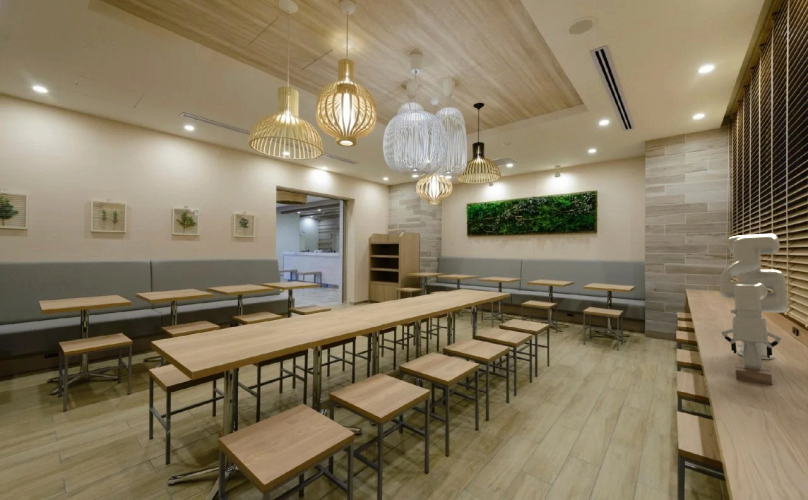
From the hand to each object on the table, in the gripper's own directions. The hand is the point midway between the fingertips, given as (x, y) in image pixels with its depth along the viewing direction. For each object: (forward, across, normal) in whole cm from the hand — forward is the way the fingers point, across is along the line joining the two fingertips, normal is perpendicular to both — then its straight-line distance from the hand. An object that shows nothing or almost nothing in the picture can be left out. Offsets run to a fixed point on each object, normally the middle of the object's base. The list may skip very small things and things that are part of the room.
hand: (751, 354), depth 138 cm
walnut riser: (+10, 0, 0) cm, 10 cm away
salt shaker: (+6, 0, 0) cm, 6 cm away
